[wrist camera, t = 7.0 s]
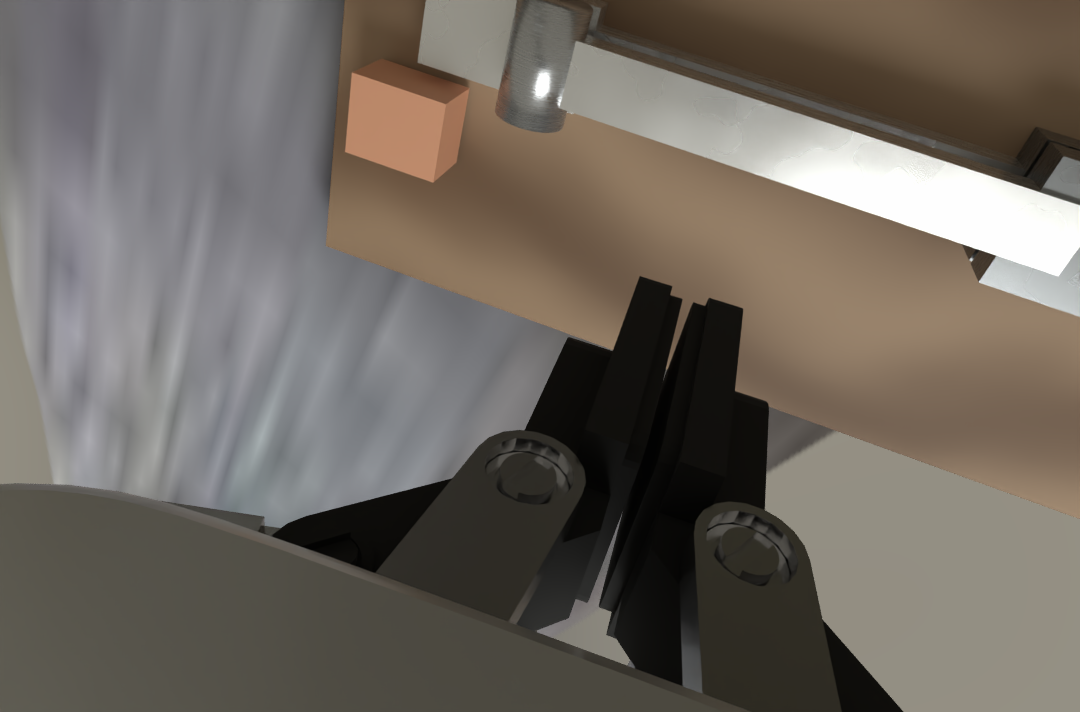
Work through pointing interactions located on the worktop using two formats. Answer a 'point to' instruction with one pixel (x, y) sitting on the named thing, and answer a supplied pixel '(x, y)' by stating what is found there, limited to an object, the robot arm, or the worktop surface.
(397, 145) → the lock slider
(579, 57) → the upper tong arm
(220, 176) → the worktop surface
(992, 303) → the walnut cutting board
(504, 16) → the tongs lower arm
